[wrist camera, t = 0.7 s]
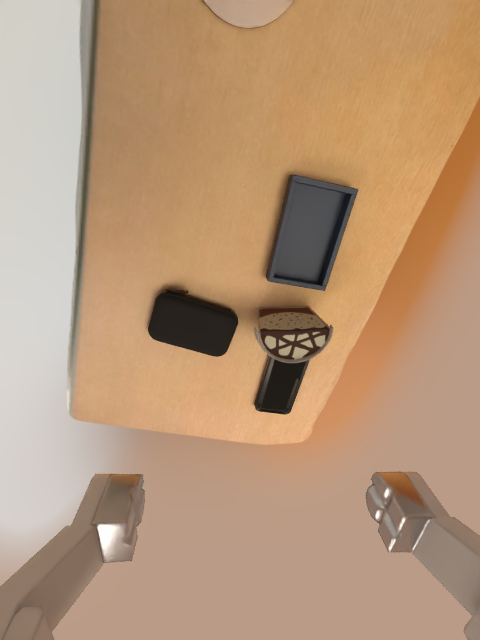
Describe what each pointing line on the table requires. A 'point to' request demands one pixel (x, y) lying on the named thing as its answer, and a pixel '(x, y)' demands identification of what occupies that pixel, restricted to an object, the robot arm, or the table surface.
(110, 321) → the table surface
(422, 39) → the table surface
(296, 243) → the tray
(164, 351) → the table surface
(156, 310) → the carrying case
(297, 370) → the phone
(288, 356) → the food container
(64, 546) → the robot arm
